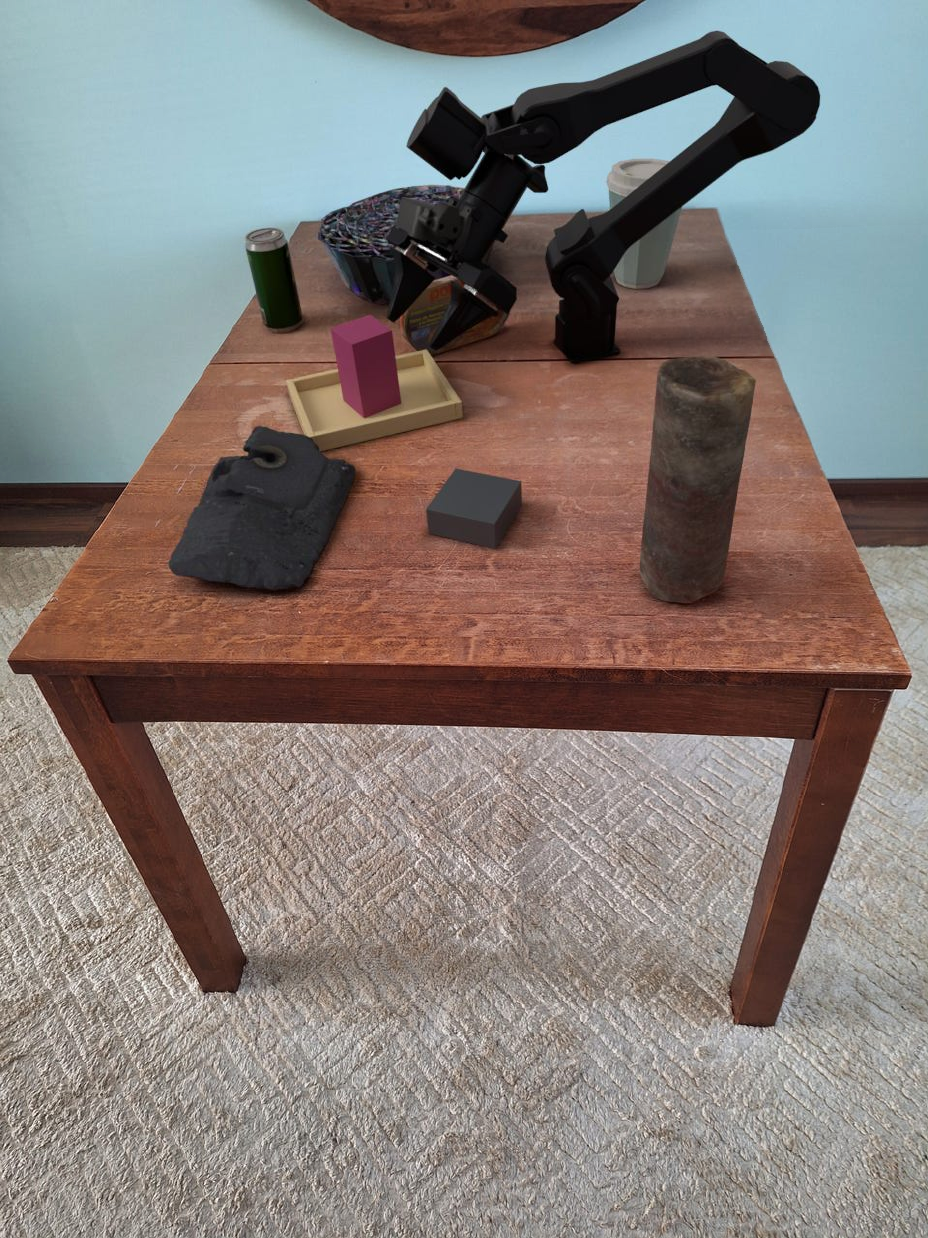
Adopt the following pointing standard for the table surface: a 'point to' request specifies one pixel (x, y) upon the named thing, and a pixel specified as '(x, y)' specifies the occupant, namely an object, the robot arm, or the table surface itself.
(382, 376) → the mulberry block
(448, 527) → the base block
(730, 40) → the robot arm
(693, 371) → the stone cylinder vase
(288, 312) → the beer can
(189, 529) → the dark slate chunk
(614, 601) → the table surface
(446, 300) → the tin
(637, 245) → the disposable coffee cup
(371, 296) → the decorative bowl
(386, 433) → the tray
